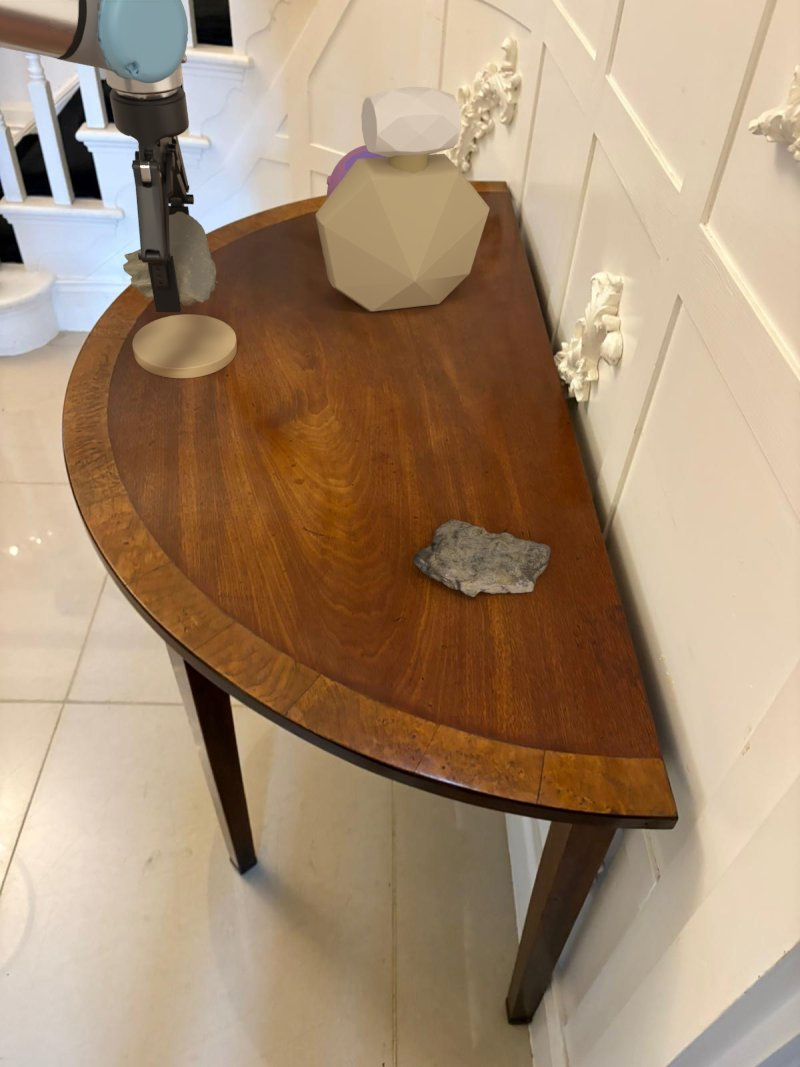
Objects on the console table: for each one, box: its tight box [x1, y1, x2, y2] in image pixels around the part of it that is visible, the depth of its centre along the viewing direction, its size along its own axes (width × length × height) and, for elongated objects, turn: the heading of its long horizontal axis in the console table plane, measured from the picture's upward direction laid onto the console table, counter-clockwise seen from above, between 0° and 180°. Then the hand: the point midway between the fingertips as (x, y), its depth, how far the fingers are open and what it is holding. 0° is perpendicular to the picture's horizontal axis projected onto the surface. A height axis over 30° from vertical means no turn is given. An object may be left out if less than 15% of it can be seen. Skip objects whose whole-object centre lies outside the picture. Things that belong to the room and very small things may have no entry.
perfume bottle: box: [315, 86, 491, 313], centre depth 105 cm, size 12×24×28 cm, turn 108°
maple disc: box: [132, 313, 238, 379], centre depth 101 cm, size 13×13×2 cm
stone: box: [412, 518, 552, 598], centre depth 77 cm, size 14×8×3 cm, turn 76°
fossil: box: [122, 212, 219, 307], centre depth 93 cm, size 14×10×10 cm
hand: (176, 283), depth 95 cm, fingers closed on fossil, 12 cm apart
